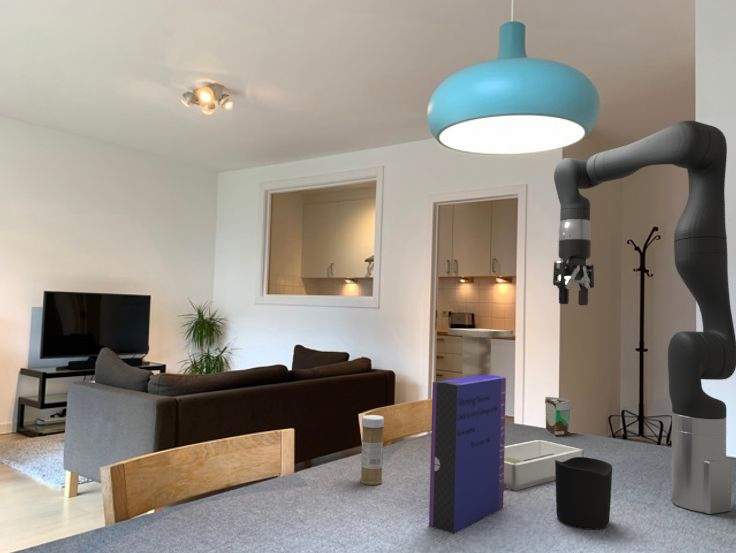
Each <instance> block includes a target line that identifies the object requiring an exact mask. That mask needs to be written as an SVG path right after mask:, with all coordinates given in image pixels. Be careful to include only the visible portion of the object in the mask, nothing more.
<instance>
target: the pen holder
mask: <svg viewBox="0 0 736 553" xmlns="http://www.w3.org/2000/svg"><path fill="white" fill-rule="evenodd" d="M555 476H556V480H555V502H556V503H555V510H556V511H555V512H556V517H557V519H558V520H559V521H560V522H561V523H562V524H565V525H568V526H569V527H573V528H577V529H582V530H602V529H605V528H607V526H609V524H610V519H611V518H610V517H611V516H610V515H611V500H612V484H613V483H612V482H613V481H612V480H613V465H612V464H611V463H609V462H607V461H604V460H600V459H597V458H592V457H587V456H584V457H574V458H571V459H568V460H566V461H563V462H559V461H558V460H555Z"/></svg>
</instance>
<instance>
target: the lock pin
mask: <svg viewBox="0 0 736 553" xmlns="http://www.w3.org/2000/svg"><path fill="white" fill-rule="evenodd" d="M551 455H556V454H553V453H552V454H548V455H544V456H539V457H535V458H531V459H527V460H522V461H521V460H518V459H514V458H510V457H508V458H504V461H507V462H510V463H514V464H516V463H521V462H525V461H529V460H534V459H538V458H543V457H547V456H551Z"/></svg>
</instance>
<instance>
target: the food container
mask: <svg viewBox="0 0 736 553" xmlns="http://www.w3.org/2000/svg"><path fill="white" fill-rule="evenodd" d="M544 398H545V399H544V404H545V431H546V432H547V433H548V434H550V435H551V436H553V437H554V438H564V437H567V436H568V435H569V424H570V411H571V410H572V409H573V404H572V402H571V400H570V399H567V398H561V397H554V396H545V397H544Z"/></svg>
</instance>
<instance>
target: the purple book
mask: <svg viewBox="0 0 736 553" xmlns="http://www.w3.org/2000/svg"><path fill="white" fill-rule="evenodd" d="M506 391H507V377H504V376H500V375H494V374H492V375H491V374H490V375H480V376H473V377H466V378H462V377H460V378H454V379H453V378H452V379H447V380H446V379H445V380H440V381H433V382H432V394H431V396H432V398H431V399H432V400H431V433H430V436H431V437H430V438H431V439H430V468H429V469H430V474H429V475H430V476H429V477H430V478H429V508H428V510H429V512H428V513H429V514H428V527H431V528H434V529H437V530H441V531H443V532H447V533H449V534H450V533H451V534H453V535H454V534H456V533H458V532H460V531H462V530H465V529H466V528H468V527H469V526H471V525H473V524H475V523H477V522H479V521H481V520H483V519H485V518H487V517H489V516H491V515H492V514H494V513H496V512H498V511H500V510H502V509H504V497H505V496H504V494H505V493H504V491H505V490H504V448H505V446H506V445H505V443H506V442H505V438H506V400H507V398H506V395H507V394H506V393H507V392H506Z"/></svg>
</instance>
